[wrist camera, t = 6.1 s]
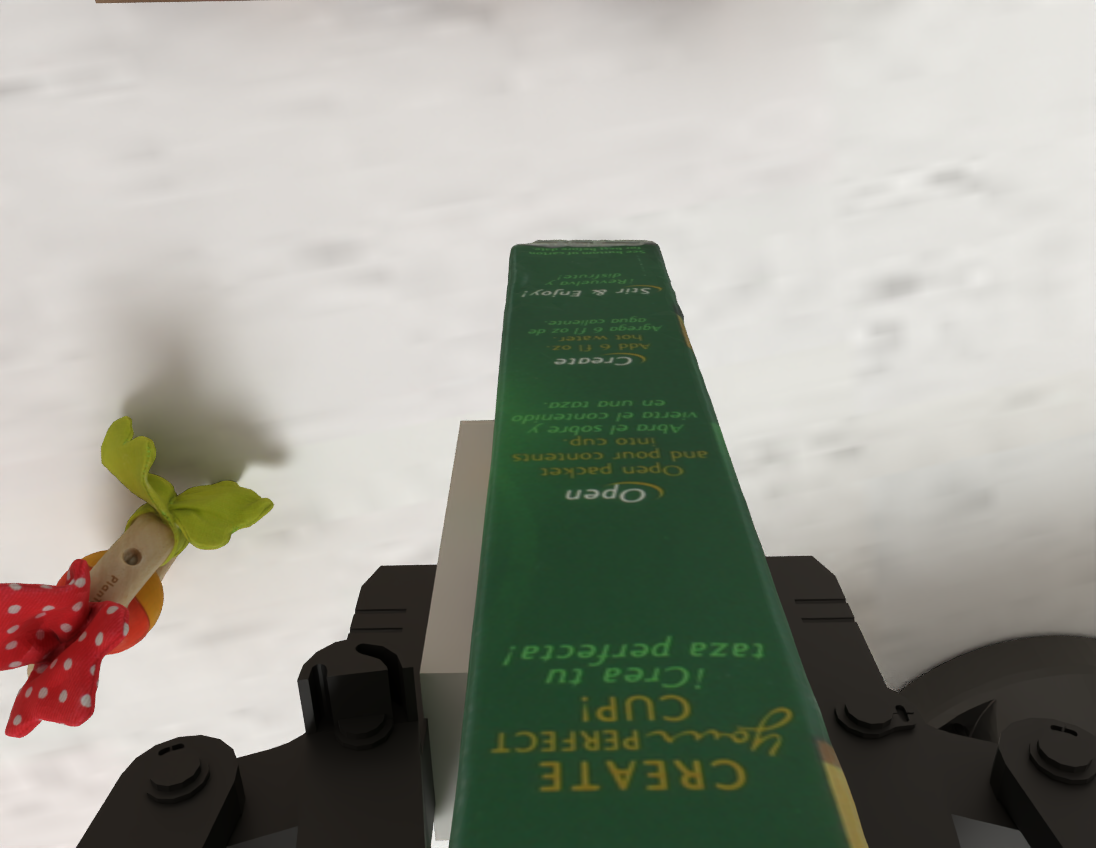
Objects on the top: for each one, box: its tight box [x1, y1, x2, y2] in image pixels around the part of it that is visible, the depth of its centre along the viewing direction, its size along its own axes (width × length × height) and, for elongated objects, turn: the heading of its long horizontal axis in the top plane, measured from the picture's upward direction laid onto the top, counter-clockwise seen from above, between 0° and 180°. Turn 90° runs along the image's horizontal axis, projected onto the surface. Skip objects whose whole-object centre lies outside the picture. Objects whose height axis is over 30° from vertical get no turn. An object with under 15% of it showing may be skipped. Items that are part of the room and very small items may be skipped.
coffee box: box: [449, 240, 869, 848], centre depth 13 cm, size 8×3×13 cm, turn 0°
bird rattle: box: [0, 416, 274, 738], centre depth 33 cm, size 6×11×9 cm
